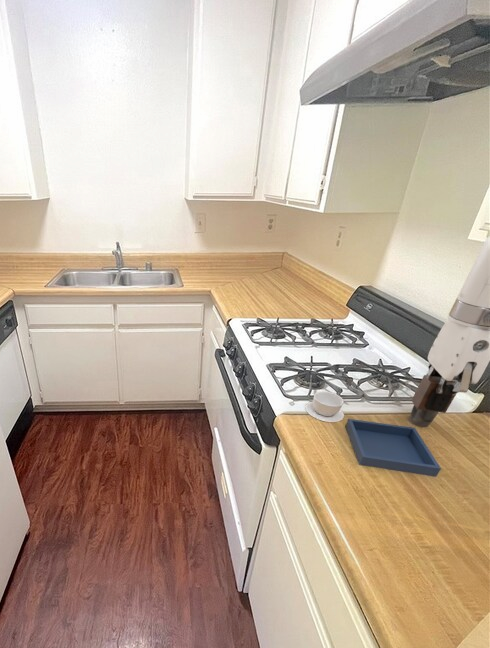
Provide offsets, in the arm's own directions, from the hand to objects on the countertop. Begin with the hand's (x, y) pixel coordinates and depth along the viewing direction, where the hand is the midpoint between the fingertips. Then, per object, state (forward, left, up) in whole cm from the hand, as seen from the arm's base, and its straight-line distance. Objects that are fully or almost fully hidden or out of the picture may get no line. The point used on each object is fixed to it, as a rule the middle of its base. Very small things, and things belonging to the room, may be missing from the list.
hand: (429, 403), depth 68 cm
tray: (0, -5, -17) cm, 18 cm away
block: (0, 0, -1) cm, 1 cm away
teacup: (+12, -18, -17) cm, 28 cm away
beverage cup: (-12, -19, -17) cm, 29 cm away
